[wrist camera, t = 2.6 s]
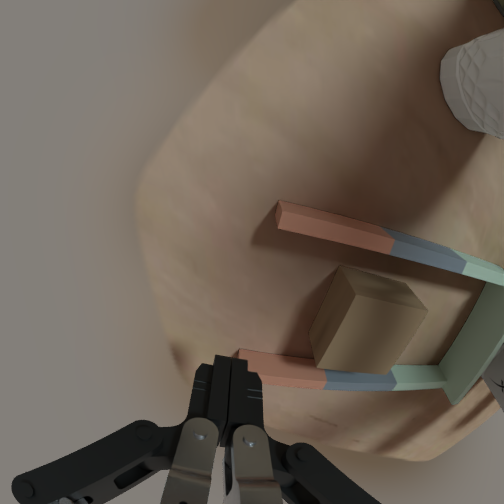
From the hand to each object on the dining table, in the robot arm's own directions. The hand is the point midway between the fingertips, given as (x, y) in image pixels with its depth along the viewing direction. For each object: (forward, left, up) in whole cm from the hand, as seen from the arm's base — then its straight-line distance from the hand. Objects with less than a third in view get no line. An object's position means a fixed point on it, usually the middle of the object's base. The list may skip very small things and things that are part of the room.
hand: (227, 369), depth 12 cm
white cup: (-13, -19, -8) cm, 24 cm away
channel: (-12, 0, -8) cm, 14 cm away
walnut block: (-9, 0, -8) cm, 12 cm away
